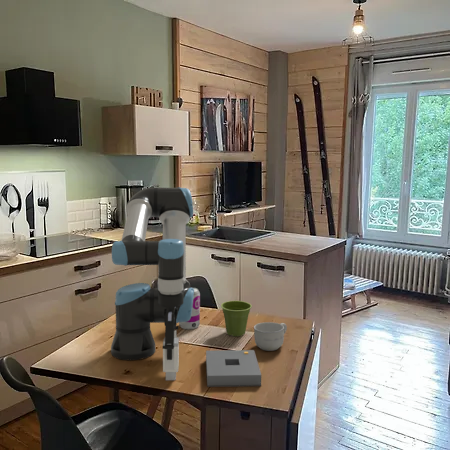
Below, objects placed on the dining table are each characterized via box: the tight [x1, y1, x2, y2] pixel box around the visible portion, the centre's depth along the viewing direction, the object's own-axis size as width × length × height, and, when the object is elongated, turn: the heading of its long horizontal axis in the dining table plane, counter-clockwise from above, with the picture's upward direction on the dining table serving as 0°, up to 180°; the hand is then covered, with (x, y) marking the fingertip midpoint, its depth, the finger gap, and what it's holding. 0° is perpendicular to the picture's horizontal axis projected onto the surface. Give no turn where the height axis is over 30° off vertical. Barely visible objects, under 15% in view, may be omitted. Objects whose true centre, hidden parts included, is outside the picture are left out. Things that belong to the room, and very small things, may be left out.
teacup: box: [253, 321, 288, 352], centre depth 166 cm, size 14×11×8 cm
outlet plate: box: [205, 349, 262, 388], centre depth 146 cm, size 16×18×4 cm
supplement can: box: [178, 287, 201, 330], centre depth 185 cm, size 8×8×15 cm
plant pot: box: [220, 300, 253, 337], centre depth 178 cm, size 12×12×11 cm
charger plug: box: [162, 337, 180, 381], centre depth 141 cm, size 4×4×12 cm
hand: (170, 359), depth 141 cm, fingers open, 13 cm apart
